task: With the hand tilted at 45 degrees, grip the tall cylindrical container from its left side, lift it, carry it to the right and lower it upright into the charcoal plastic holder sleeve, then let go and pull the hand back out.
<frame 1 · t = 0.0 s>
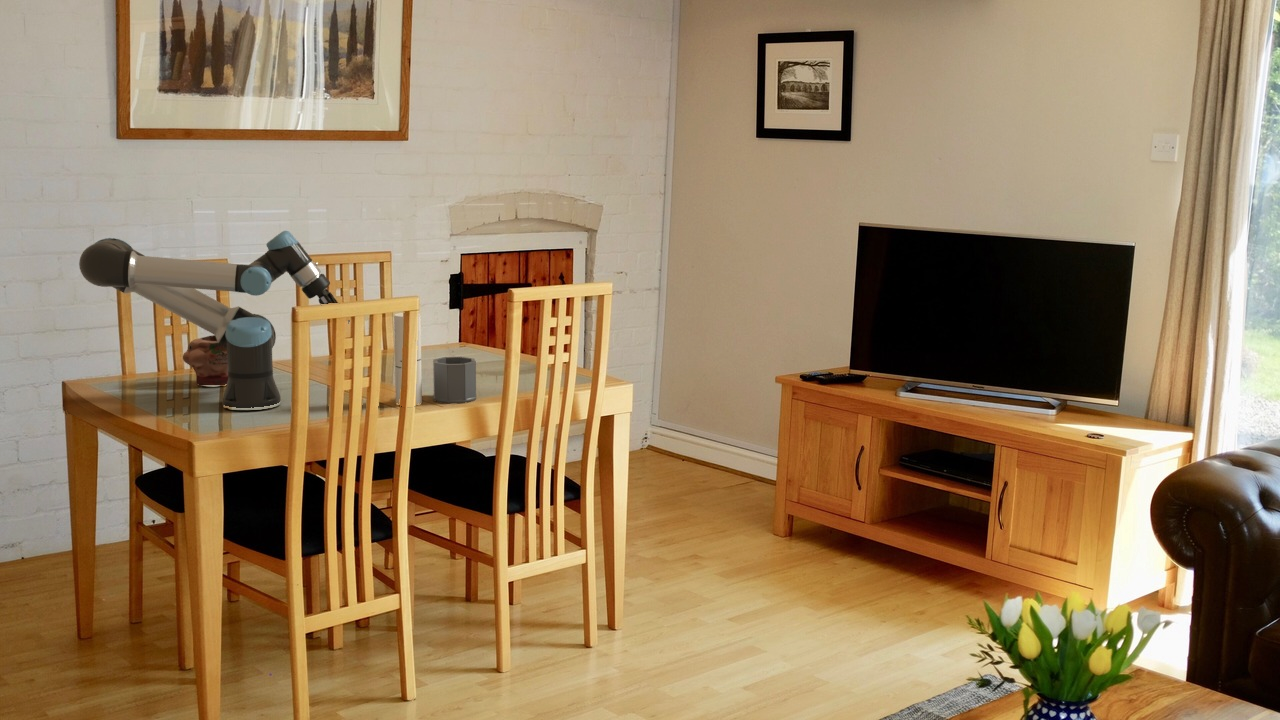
hand: (358, 339, 353), 15 cm above the table, tool tilted 35°, fingers open, 13 cm apart
cylindrical container: (409, 404, 342), on the table
holder sleeve: (454, 398, 349), on the table
decorative planter: (220, 384, 362), on the table
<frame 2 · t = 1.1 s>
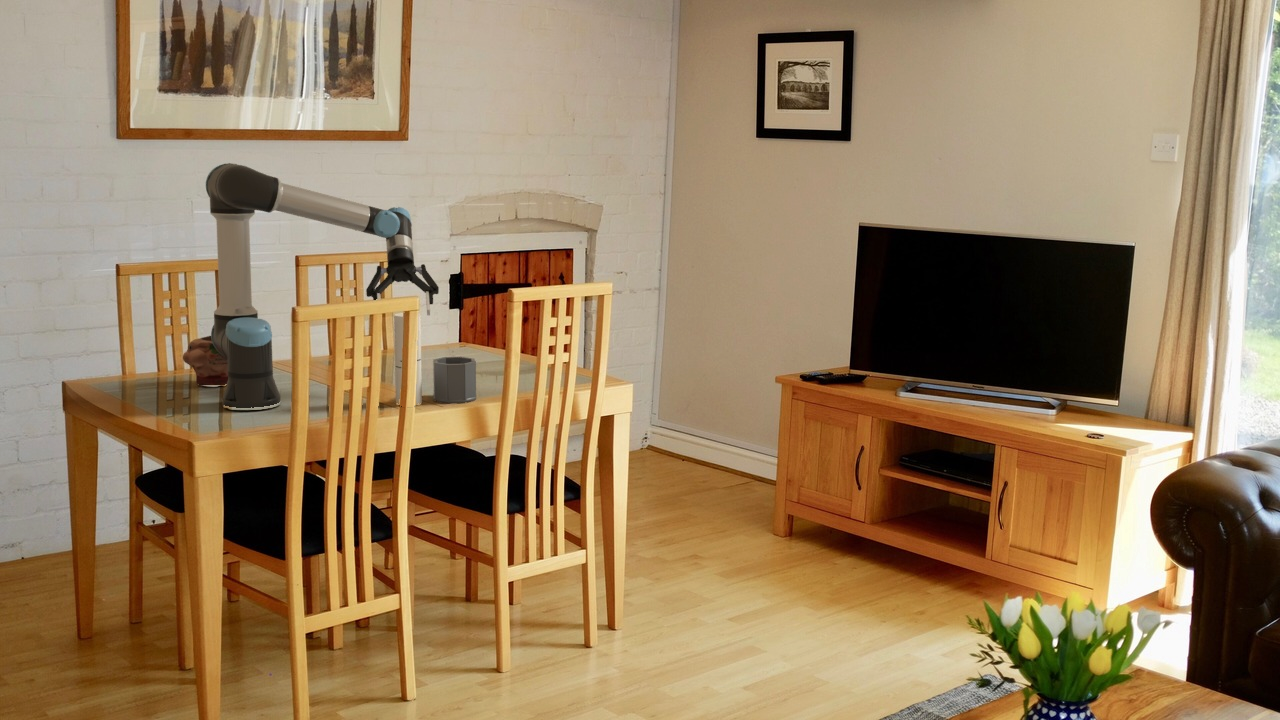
hand: (404, 313, 347), 24 cm above the table, tool tilted 45°, fingers open, 13 cm apart
nothing on the table moved.
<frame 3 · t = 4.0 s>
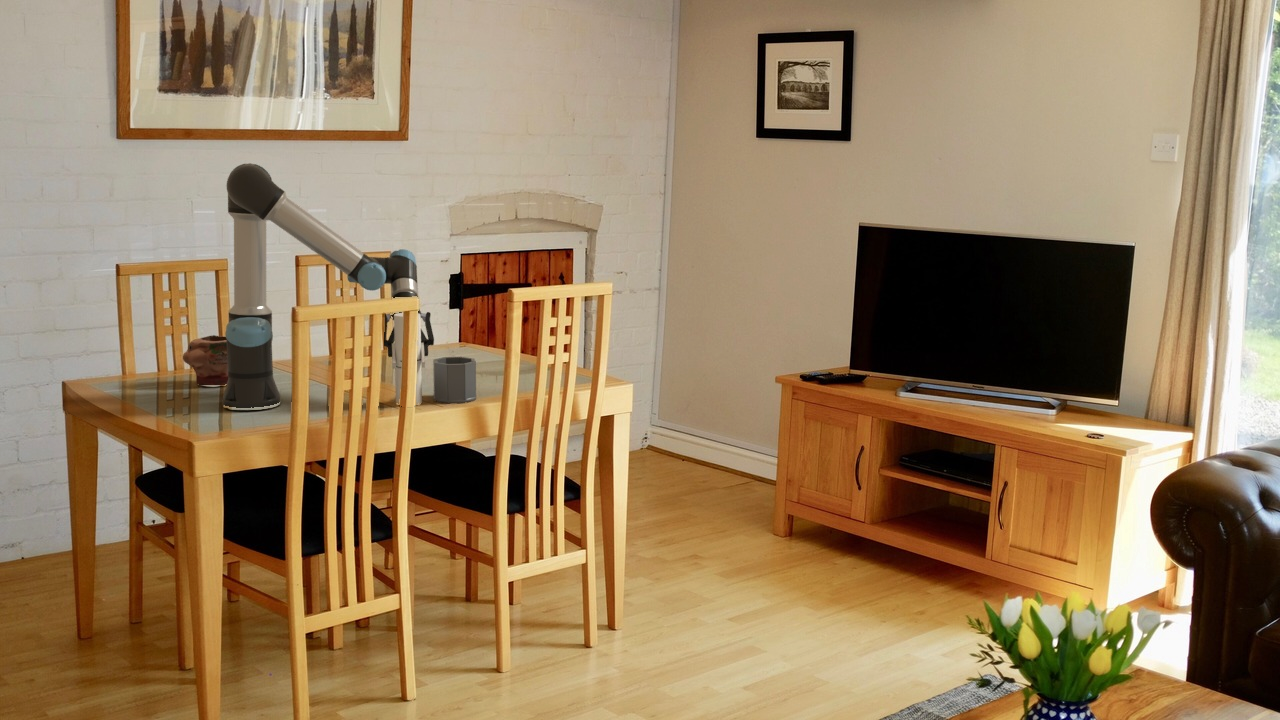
hand: (408, 365, 336), 12 cm above the table, tool tilted 45°, fingers closed on cylindrical container, 7 cm apart
cylindrical container: (408, 404, 342), on the table, touching gripper
everything else where it was.
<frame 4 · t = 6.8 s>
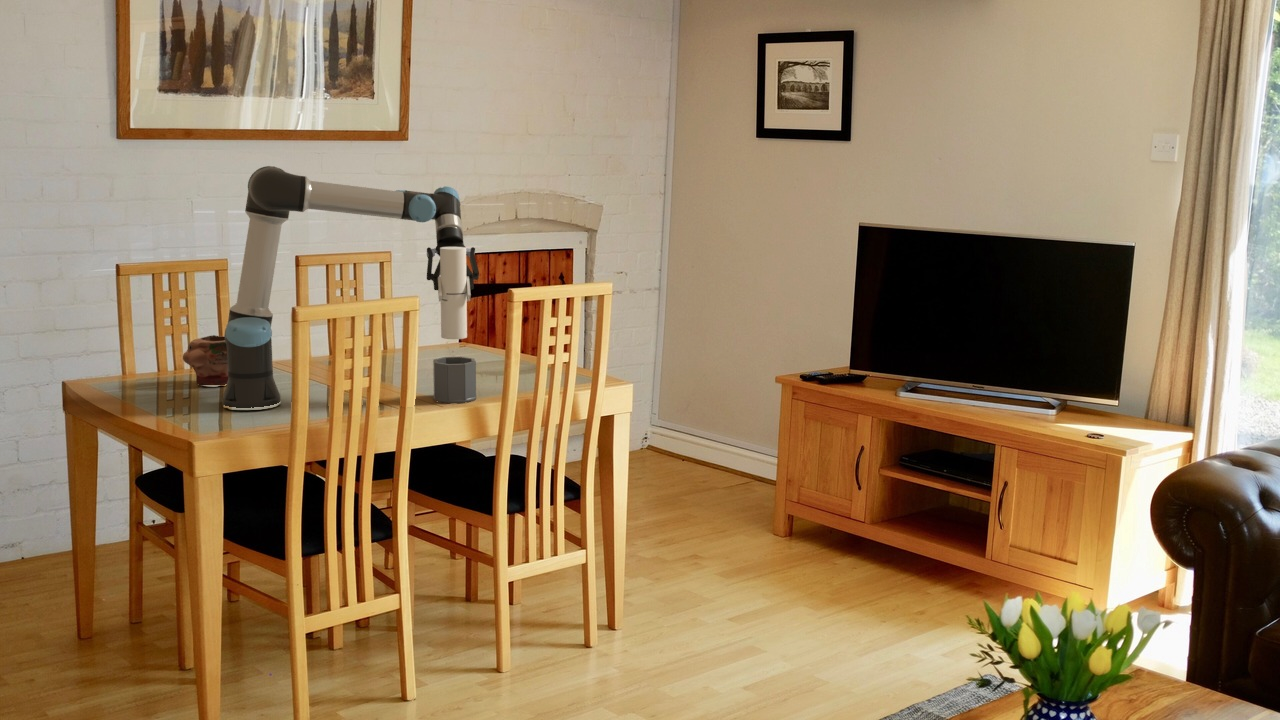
hand: (454, 298, 340), 29 cm above the table, tool tilted 45°, fingers closed on cylindrical container, 7 cm apart
cylindrical container: (454, 337, 345), point 18 cm above the table, touching gripper
everything else where it was.
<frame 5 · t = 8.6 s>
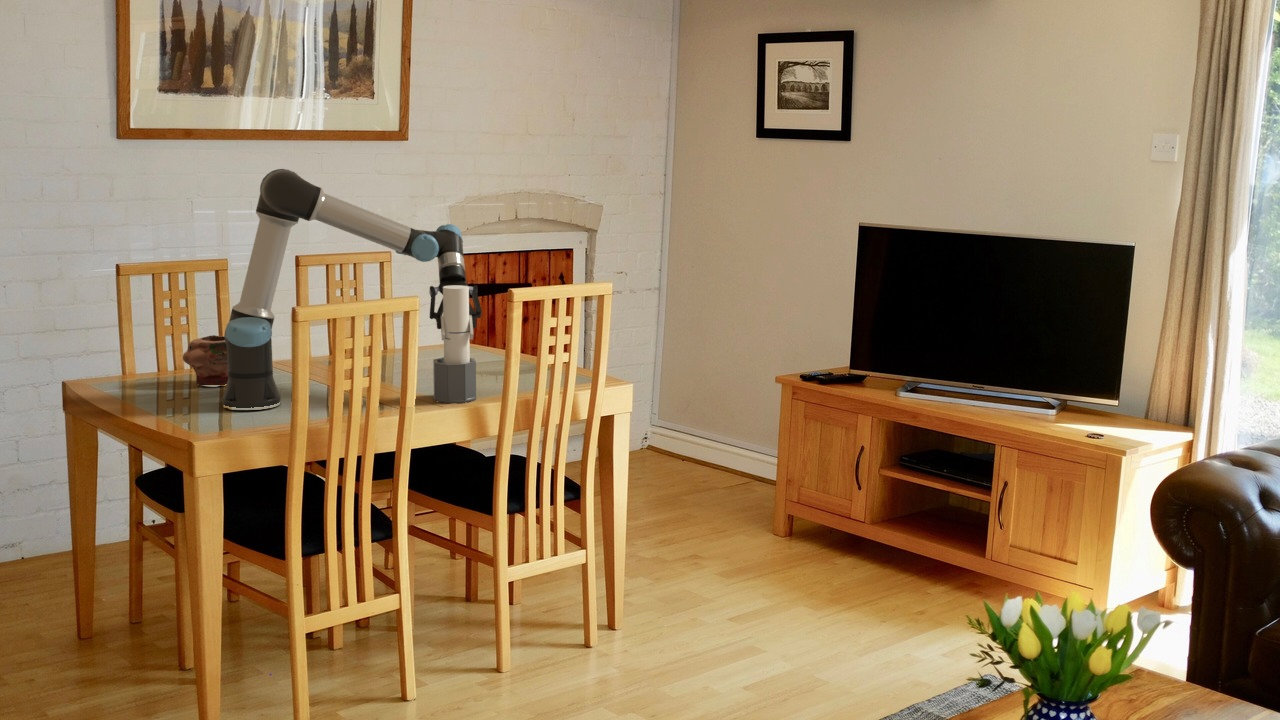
hand: (457, 337, 342), 18 cm above the table, tool tilted 45°, fingers closed on cylindrical container, 7 cm apart
cylindrical container: (457, 375, 348), point 7 cm above the table, touching gripper
everything else where it was.
when the fingers open (13 cm above the table, at t = 10.0 s): cylindrical container stays where it is, resting on holder sleeve.
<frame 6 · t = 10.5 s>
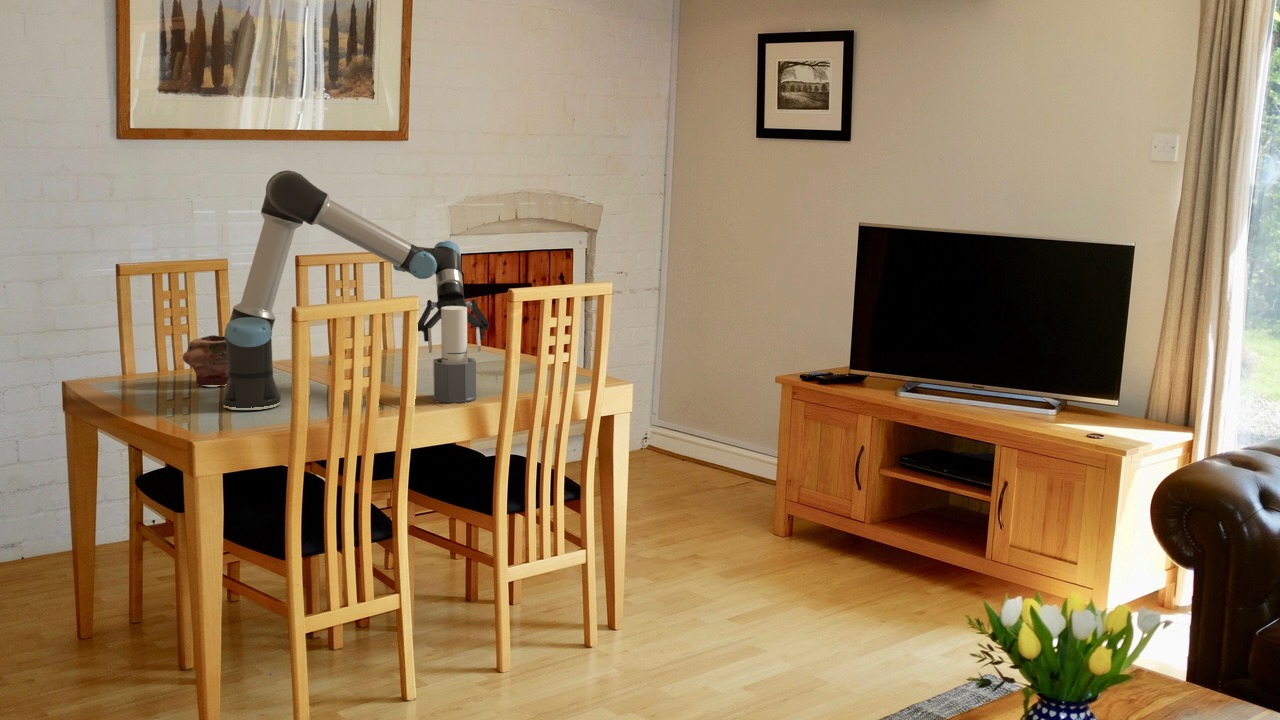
hand: (455, 349, 344), 15 cm above the table, tool tilted 45°, fingers open, 13 cm apart
cylindrical container: (454, 395, 349), point 1 cm above the table, touching holder sleeve
everything else where it was.
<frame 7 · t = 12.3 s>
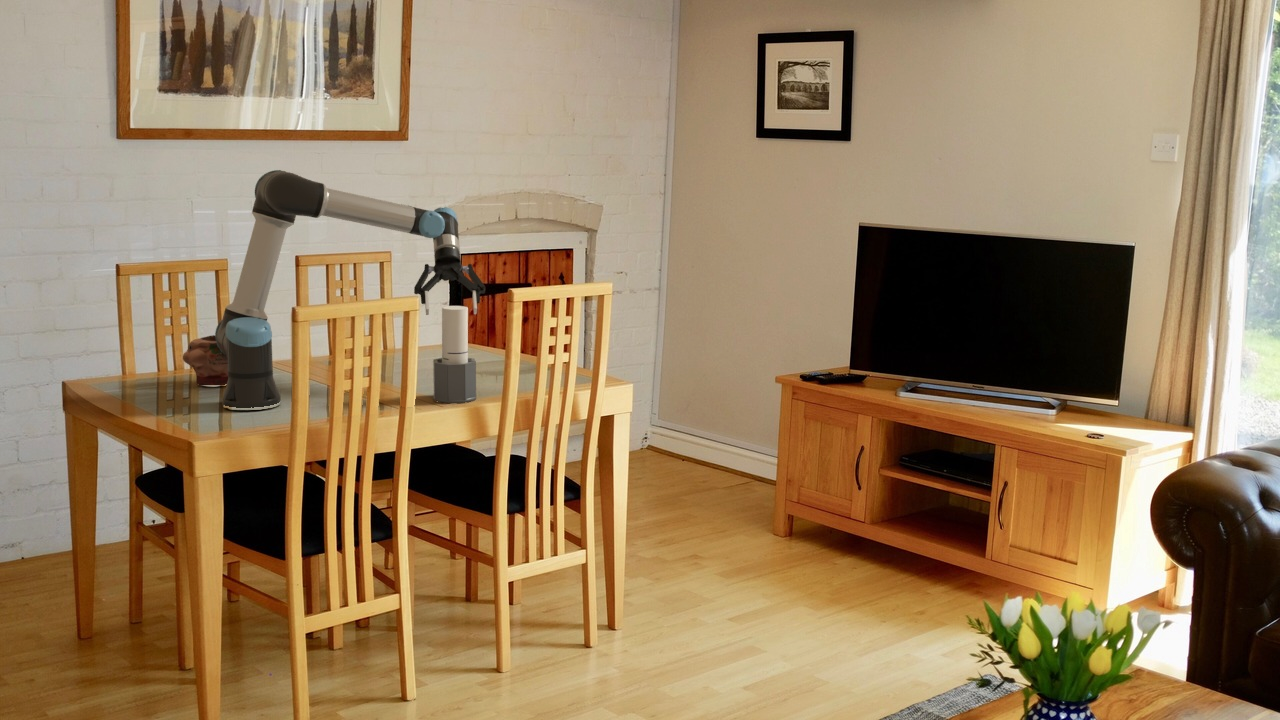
hand: (451, 311, 350), 24 cm above the table, tool tilted 45°, fingers open, 13 cm apart
nothing on the table moved.
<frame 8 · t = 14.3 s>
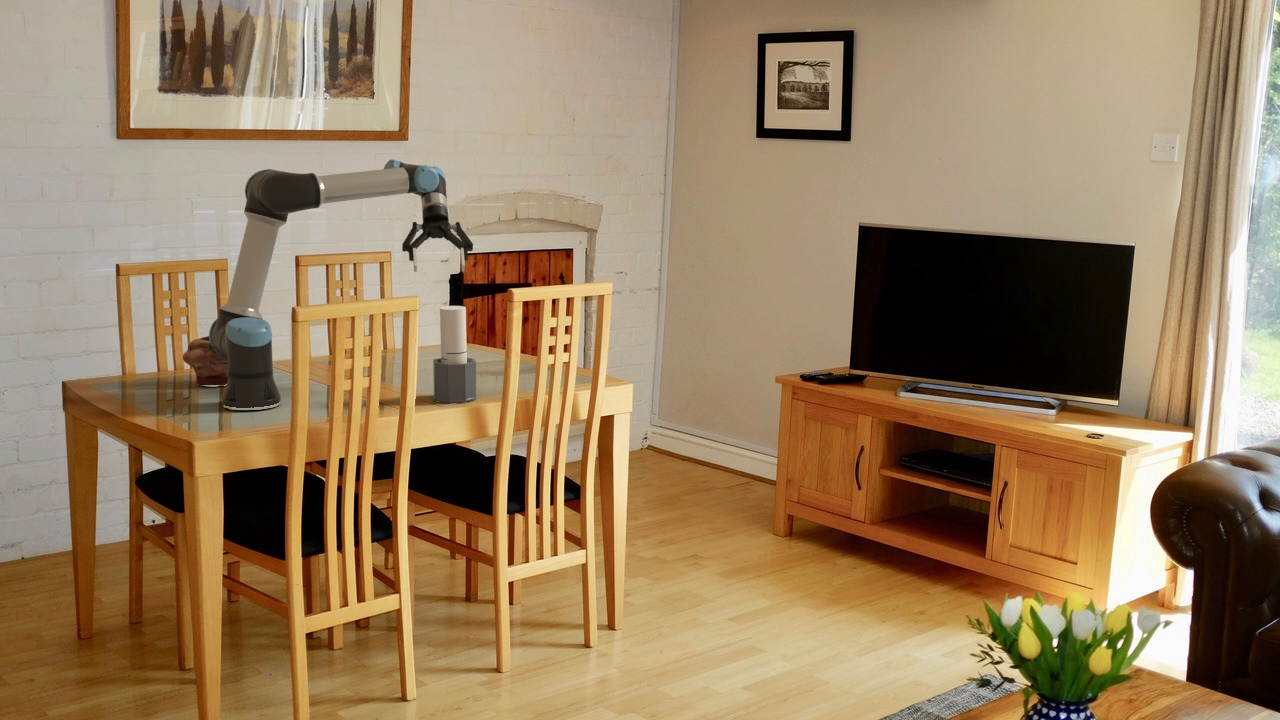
hand: (439, 268, 352), 36 cm above the table, tool tilted 45°, fingers open, 13 cm apart
nothing on the table moved.
at the end: cylindrical container 0.1 cm from the holder sleeve (horizontally); cylindrical container tilted 1°; the gripper is holding nothing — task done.
